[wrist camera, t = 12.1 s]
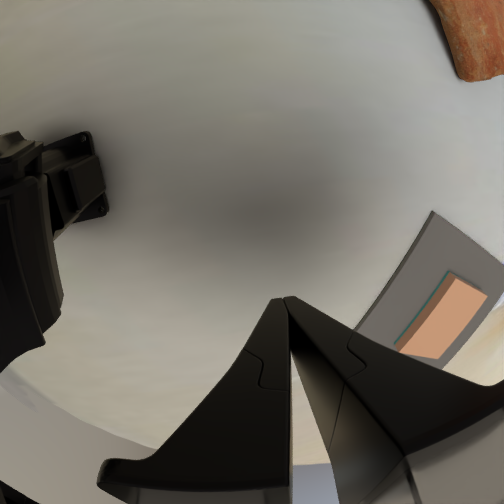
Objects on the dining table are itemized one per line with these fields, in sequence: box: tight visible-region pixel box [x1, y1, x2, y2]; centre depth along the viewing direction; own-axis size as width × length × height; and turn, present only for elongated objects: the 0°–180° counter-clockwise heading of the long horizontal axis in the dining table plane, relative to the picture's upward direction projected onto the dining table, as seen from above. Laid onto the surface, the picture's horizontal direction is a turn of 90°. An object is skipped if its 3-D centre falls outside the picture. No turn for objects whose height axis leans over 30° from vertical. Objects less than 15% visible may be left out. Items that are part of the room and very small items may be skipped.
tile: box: [394, 271, 488, 359], centre depth 27 cm, size 2×10×8 cm
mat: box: [354, 211, 504, 370], centre depth 28 cm, size 20×18×1 cm
